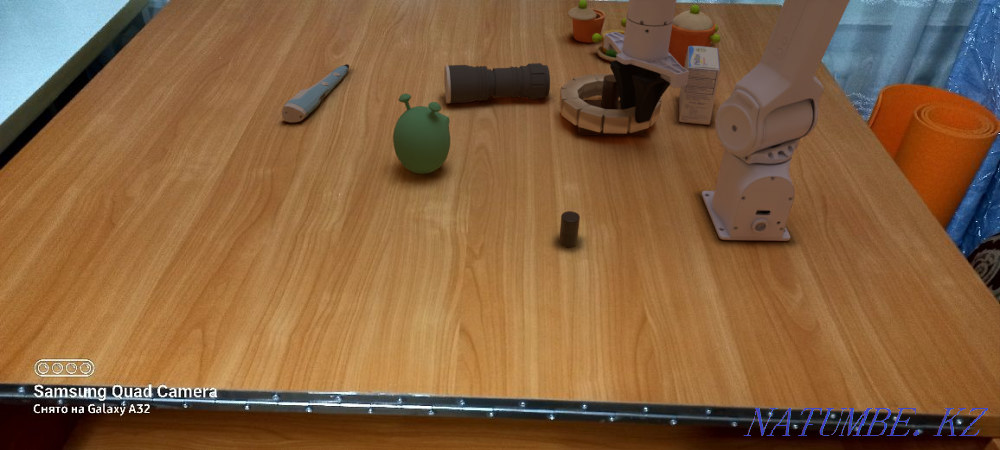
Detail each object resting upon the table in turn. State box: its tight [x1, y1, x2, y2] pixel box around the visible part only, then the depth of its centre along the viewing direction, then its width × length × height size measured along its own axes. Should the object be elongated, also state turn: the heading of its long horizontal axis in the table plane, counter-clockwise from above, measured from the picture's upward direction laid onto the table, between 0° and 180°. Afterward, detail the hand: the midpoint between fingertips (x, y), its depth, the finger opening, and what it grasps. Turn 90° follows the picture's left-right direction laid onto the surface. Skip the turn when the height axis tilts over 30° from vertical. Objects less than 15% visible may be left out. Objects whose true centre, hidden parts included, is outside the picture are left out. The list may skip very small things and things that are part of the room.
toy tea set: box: [566, 0, 722, 68], centre depth 124 cm, size 26×16×10 cm, turn 84°
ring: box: [558, 73, 663, 133], centre depth 104 cm, size 14×14×2 cm
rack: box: [576, 75, 646, 137], centre depth 104 cm, size 9×9×6 cm
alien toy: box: [392, 93, 451, 175], centre depth 91 cm, size 7×8×10 cm
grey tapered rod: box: [281, 63, 350, 123], centre depth 109 cm, size 19×3×3 cm, turn 166°
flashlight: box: [443, 62, 551, 104], centre depth 109 cm, size 15×5×5 cm, turn 99°
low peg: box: [558, 210, 581, 248], centre depth 81 cm, size 2×2×4 cm
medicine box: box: [678, 46, 721, 126], centre depth 106 cm, size 8×4×9 cm, turn 168°
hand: (635, 116), depth 100 cm, fingers closed on ring, 2 cm apart
